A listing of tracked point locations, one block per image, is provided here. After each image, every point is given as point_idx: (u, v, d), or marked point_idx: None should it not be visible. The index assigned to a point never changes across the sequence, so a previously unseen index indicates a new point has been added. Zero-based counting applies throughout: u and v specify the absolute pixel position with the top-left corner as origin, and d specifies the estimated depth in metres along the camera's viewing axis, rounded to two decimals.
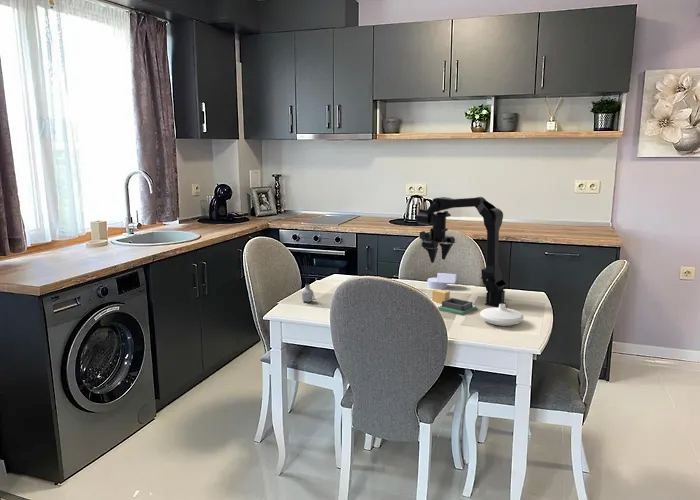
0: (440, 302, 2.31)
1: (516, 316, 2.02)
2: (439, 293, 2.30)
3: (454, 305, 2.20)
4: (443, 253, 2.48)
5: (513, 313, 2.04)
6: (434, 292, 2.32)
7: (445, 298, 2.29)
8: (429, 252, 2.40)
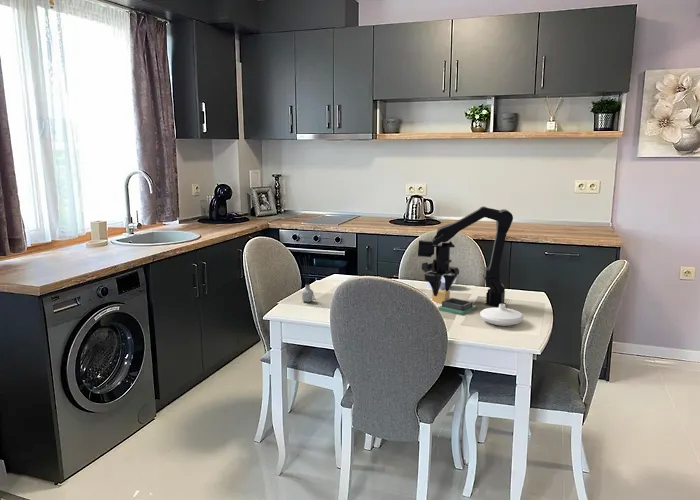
0: (440, 302, 2.31)
1: (516, 316, 2.02)
2: (439, 293, 2.30)
3: (454, 305, 2.20)
4: (447, 285, 2.35)
5: (513, 313, 2.04)
6: None
7: (445, 298, 2.29)
8: (432, 285, 2.27)
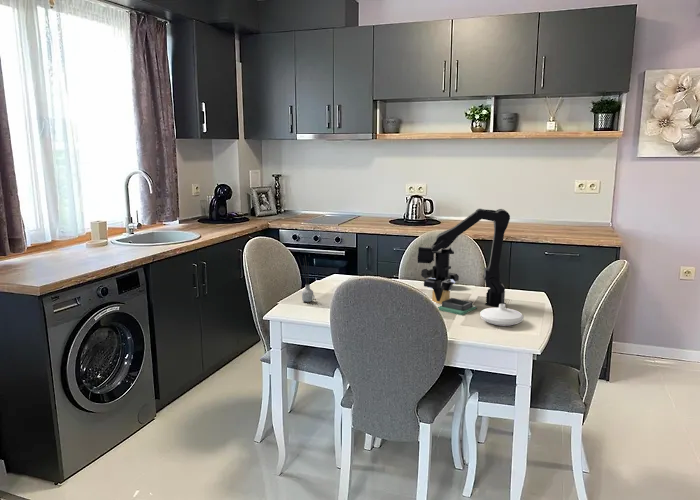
0: (440, 302, 2.31)
1: (516, 316, 2.02)
2: None
3: (454, 305, 2.20)
4: None
5: (513, 313, 2.04)
6: None
7: (445, 298, 2.29)
8: (435, 290, 2.30)
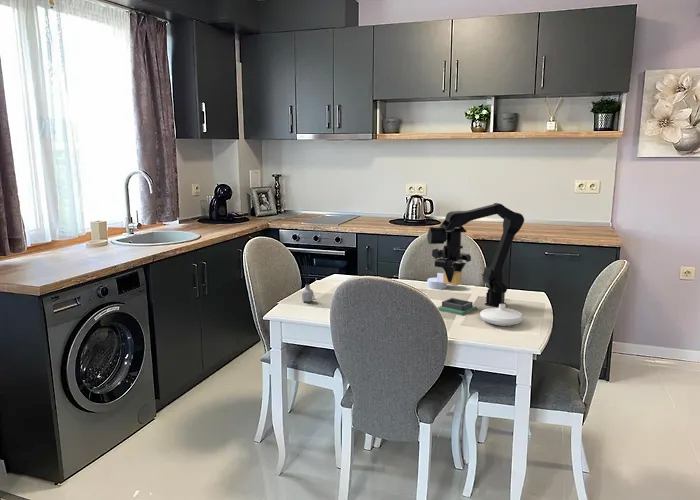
0: (451, 283, 2.23)
1: (516, 316, 2.02)
2: None
3: (454, 305, 2.20)
4: None
5: (513, 313, 2.04)
6: None
7: (457, 278, 2.22)
8: (446, 271, 2.22)
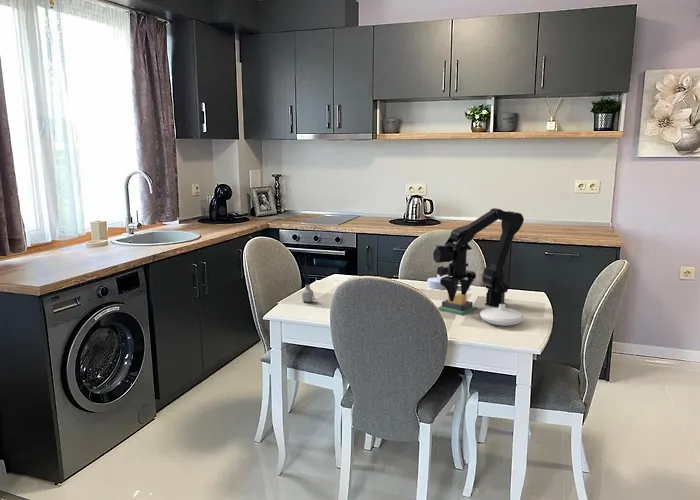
0: None
1: (516, 316, 2.02)
2: (455, 297, 2.21)
3: (454, 305, 2.20)
4: (463, 290, 2.26)
5: (513, 313, 2.04)
6: None
7: (462, 302, 2.20)
8: (448, 290, 2.18)
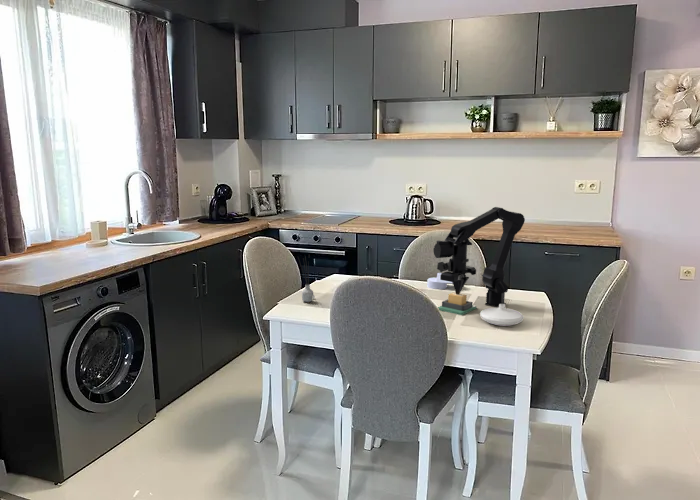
0: None
1: (516, 316, 2.02)
2: (455, 297, 2.21)
3: (454, 305, 2.20)
4: None
5: (513, 313, 2.04)
6: (450, 296, 2.22)
7: (462, 302, 2.20)
8: (454, 283, 2.21)
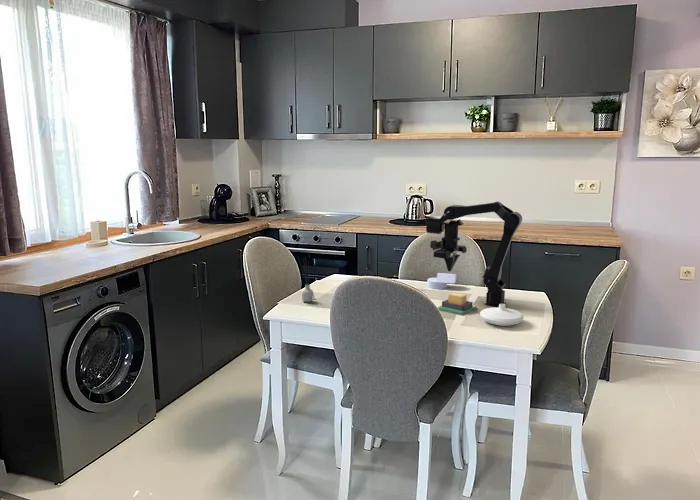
0: None
1: (516, 316, 2.02)
2: (455, 297, 2.21)
3: (454, 305, 2.20)
4: None
5: (513, 313, 2.04)
6: (450, 296, 2.22)
7: (462, 302, 2.20)
8: (446, 260, 2.34)
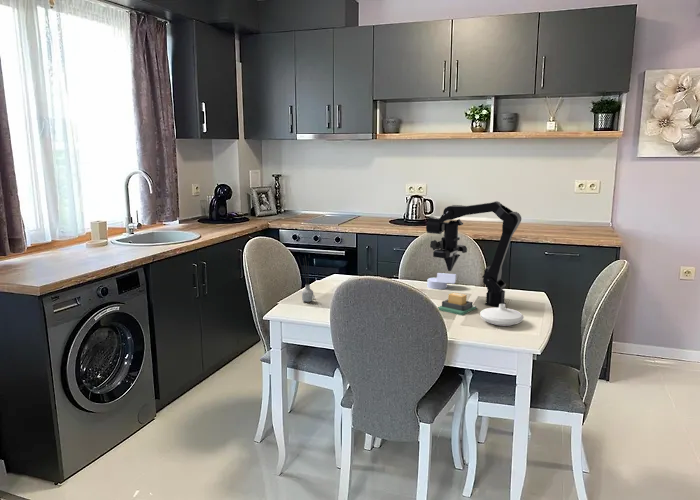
0: None
1: (516, 316, 2.02)
2: (455, 297, 2.21)
3: (454, 305, 2.20)
4: None
5: (513, 313, 2.04)
6: (450, 296, 2.22)
7: (462, 302, 2.20)
8: (446, 260, 2.35)
